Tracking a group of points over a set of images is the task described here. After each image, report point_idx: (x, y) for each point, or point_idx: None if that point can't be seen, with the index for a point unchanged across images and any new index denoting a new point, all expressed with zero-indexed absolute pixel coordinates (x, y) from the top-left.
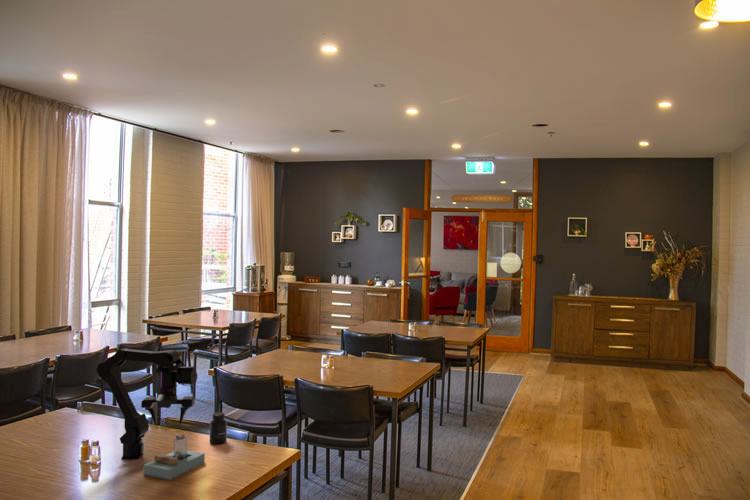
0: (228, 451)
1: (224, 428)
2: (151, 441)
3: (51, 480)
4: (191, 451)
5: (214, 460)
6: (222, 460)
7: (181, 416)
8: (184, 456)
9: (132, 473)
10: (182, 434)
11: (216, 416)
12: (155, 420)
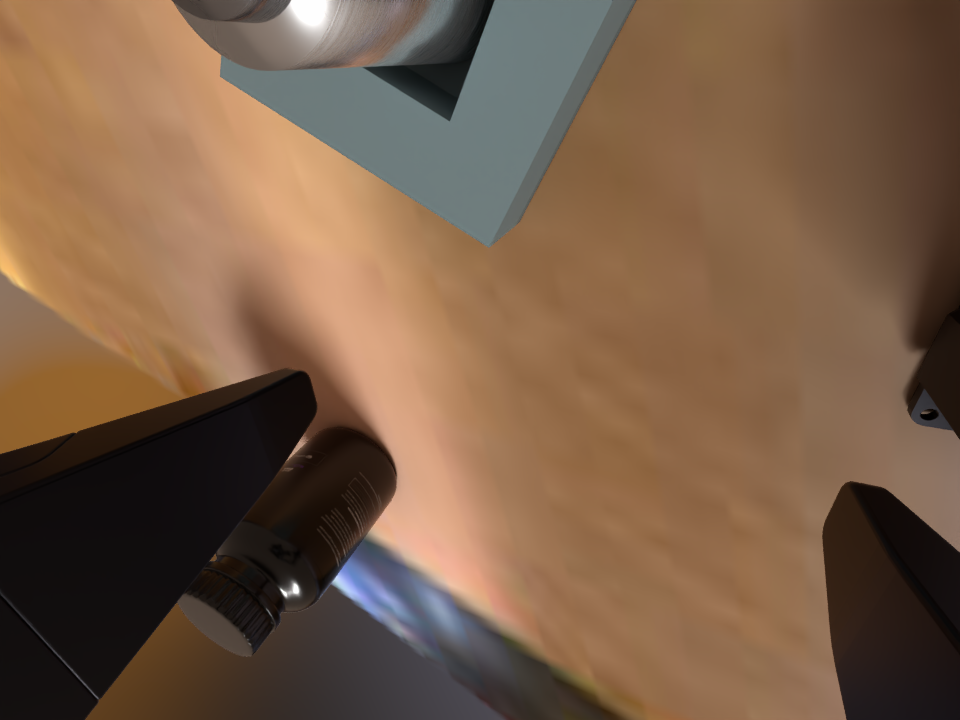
0: (244, 307)
1: None
2: (814, 635)
3: None
4: (352, 152)
5: (244, 134)
6: (197, 130)
7: (103, 439)
8: None
9: None
10: (198, 13)
11: (213, 593)
12: (920, 578)
